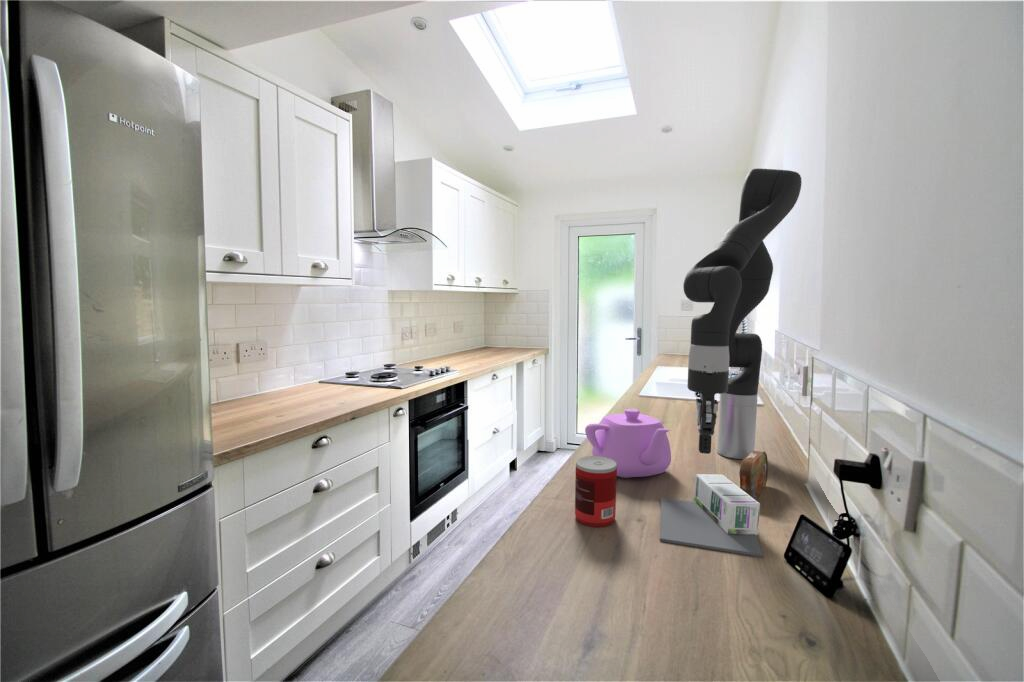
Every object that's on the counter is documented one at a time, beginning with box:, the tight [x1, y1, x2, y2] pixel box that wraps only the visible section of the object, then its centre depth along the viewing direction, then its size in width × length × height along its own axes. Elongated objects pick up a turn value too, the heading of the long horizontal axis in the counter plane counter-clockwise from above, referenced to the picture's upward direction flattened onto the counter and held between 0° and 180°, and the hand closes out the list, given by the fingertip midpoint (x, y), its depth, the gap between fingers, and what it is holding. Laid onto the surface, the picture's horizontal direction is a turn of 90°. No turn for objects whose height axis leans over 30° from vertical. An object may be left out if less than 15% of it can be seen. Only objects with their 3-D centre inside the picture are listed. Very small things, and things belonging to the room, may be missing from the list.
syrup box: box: [694, 473, 761, 535], centre depth 90 cm, size 6×6×14 cm
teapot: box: [584, 408, 672, 479], centre depth 113 cm, size 23×21×15 cm
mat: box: [659, 497, 763, 558], centre depth 88 cm, size 18×16×1 cm
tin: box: [738, 450, 769, 501], centre depth 103 cm, size 15×3×8 cm, turn 140°
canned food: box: [574, 455, 618, 528], centre depth 90 cm, size 8×8×11 cm
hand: (704, 452), depth 95 cm, fingers closed
